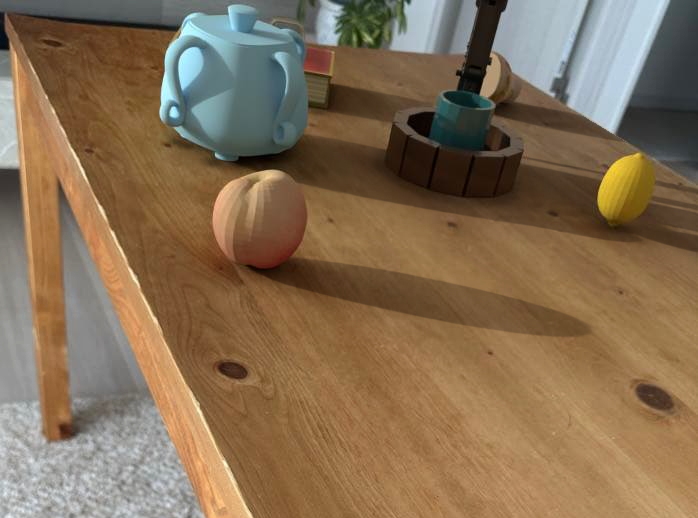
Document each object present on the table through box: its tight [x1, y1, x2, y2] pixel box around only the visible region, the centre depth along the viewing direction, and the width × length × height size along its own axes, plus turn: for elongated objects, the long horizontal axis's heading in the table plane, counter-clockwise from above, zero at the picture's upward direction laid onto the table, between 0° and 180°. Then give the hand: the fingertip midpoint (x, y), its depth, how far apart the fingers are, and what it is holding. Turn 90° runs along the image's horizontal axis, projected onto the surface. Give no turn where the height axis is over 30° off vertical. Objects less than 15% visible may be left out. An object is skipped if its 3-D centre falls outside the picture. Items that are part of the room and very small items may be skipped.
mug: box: [457, 50, 523, 106], centre depth 123 cm, size 8×10×10 cm
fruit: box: [212, 169, 309, 270], centre depth 76 cm, size 8×8×8 cm
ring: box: [384, 106, 525, 198], centre depth 102 cm, size 15×15×4 cm
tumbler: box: [429, 89, 496, 151], centre depth 100 cm, size 6×6×8 cm
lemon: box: [597, 152, 656, 227], centre depth 95 cm, size 6×6×8 cm
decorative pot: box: [159, 4, 309, 162], centre depth 95 cm, size 16×16×14 cm
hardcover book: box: [166, 24, 336, 109], centre depth 116 cm, size 12×21×4 cm, turn 86°
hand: (458, 127), depth 107 cm, fingers open, 4 cm apart
